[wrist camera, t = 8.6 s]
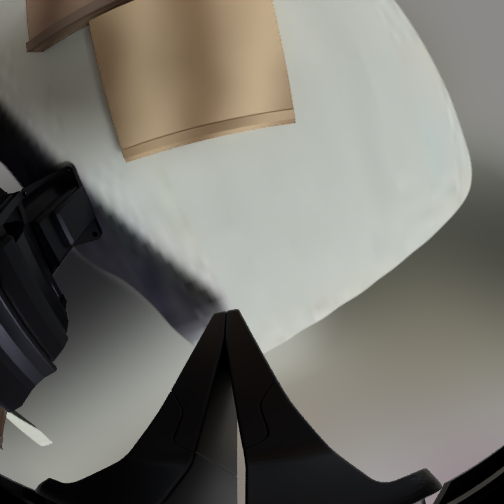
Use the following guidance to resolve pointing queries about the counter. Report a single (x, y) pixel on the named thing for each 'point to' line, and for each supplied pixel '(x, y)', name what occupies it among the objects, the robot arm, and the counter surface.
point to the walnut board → (61, 19)
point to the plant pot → (2, 424)
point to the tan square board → (190, 71)
